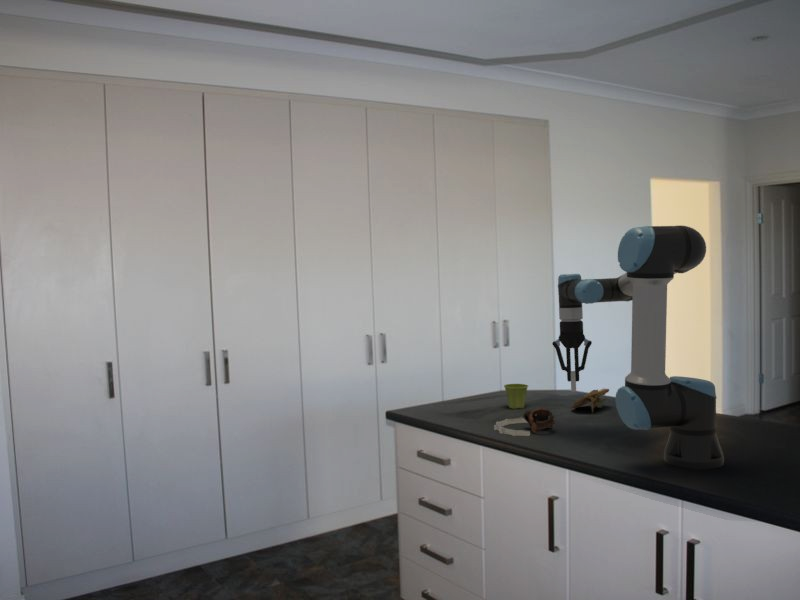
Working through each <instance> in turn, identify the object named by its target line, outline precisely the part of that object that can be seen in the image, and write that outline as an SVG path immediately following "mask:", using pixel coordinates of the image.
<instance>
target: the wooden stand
mask: <svg viewBox="0 0 800 600" xmlns="http://www.w3.org/2000/svg"><path fill="white" fill-rule="evenodd" d="M609 392H610V388H603V387H602V389H593V390H591V391H590V392H588V393H587V394H585V395H584V396H582V397H580V398H579V399H577V400H576V401H575V402H574V403H573V404H572V405H571V407H570V409H577V408H580V407H583V406H585V405H587V404H589V403H590V409H591V414H593V413H594V410H595V408H598V409H599V408H600V409H601V408H603V403H604V401H606V400H607V399H605V398H603V399H601V397H604V396H605V395H606V394H607V393H609Z"/></svg>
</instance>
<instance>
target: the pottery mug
mask: <svg viewBox="0 0 800 600" xmlns="http://www.w3.org/2000/svg"><path fill="white" fill-rule="evenodd" d="M523 418H525V420H526V421H527V422H528V423H527V424H529V427H530V428H531V429H530V431H531V432H533V433H534V434H536V433H537V431H541V430H545V429H548V428H551V429H553V425H555V424H556V421H555V420H554V419H555V416H554V415H553V412H552V411H551V410H549V409H547V408H536V409H534V410H532V411H531V410H527V411H525V412H524V413H523Z"/></svg>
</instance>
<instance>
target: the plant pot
mask: <svg viewBox="0 0 800 600" xmlns="http://www.w3.org/2000/svg"><path fill="white" fill-rule="evenodd" d="M503 387H504V389H505V392H506V398H507V404H508V408H510V409H512V410H513V409H514V410H516V409H524V408H525V405H526V398H527V397H526V396H527V390H528V387H529V385H528V384H524V383H508V384H504V385H503Z"/></svg>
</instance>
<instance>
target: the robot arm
mask: <svg viewBox="0 0 800 600" xmlns="http://www.w3.org/2000/svg"><path fill="white" fill-rule="evenodd" d="M617 248H618V250H617V262H618V263H619V268H621V270H622V271H624V272H625V273H623V274H622V275H620V276H617V277H613V278H584V279H582V276H581V274H579V273H567V274H566V273H565V274H560V275H558V278H557V281H558V283H557V289H558V290H557V291H558V292H557V293H558V313H559V314H558V316H559V317H558V318H559V321H560V320H561V321H560V322H559V336H558V339H556V340H555V341H553V342H552V346H553V347H554V349H555V352H556V355H557V359H558V362H559V365H560V368H561V370H562V371H564V372H566V378H567V382H570V389H571V390H570V391H571V393H577V382H579V381H580V372H581V371H584V370H585V368H586V362H587V357H588V352H589V349H590V347H591V345H592V340H589V339H587V338H586V335H585V333H584V321H583V317H584V316H583V315H584V314H583V313H584V312H583V304H587V305H588V304H591V305H592V304H597V303H613V302H630V301H631V302H632V304H631V309H632V310H631V352H630V353H631V354H630V355H631V356H630V359H631V360H630V372H629V374H627V375H626V376H625V377H624V385H623V386H621V387H619V388H618V389H617V391H616V392H615V406H616V410H617V413H618V415H619V417H620V419H621V421H622V422H623V423H624V425H625V426H626V427H628V428H629V429H632V430H636V431H637V430H644V431H647V430H653V429H661V428H663V429H664V428H669V436H668V439H667V442H666V444H665V447H664V450H663V461H664V462H665V463H666V464H669V465H671V466H673V467H678V468H681V467H682V468H681V469H688V468H689V469H688V470H712V469H713V470H714V469H718V468H721V467H722V466H724V464H725V457H724V456H725V455H724V452H723V449H722V447H721V443H720V441H719V439H718V435H717V393H716V386H715V384H714V383H713V382H712V381H709V380H707V379H701V378H696V377H689V376H679V375H678V376H677V375H676V376H675V375H673V376H668V375H667V374H666V358H667V355H666V351H667V317H668V316H667V315H668V314H667V313H668V312H667V308H668V284H670V282H672V281H673V279H675V278H674V277H675V276H674V275H675V274H685V273H687V272H689V271H692V269H693V270H694V269H695V268H697V267H698V266H699V265H700V264H702V262H703V260H704V259H705V256H706V253H707V243H706V241H705V239H704V237H703V235H702V234H701V233H700V231H698V230H696V229H695V228H693V227H691V226H687V225H654V226H653V225H652V226H650V225H645V226H635V227H632V228H629V230H627V231H626V232H625V233H624V235H623V236H622V237H621V238H620V242H619V244H618V247H617ZM583 342H584V344H583ZM561 344H562V346H563V347H564V348H565V353H566V365H565V362H564V361H565V360H564V357H563V354H562V351H561V348H560V345H561ZM582 344H583V346H584V349H583V354H582V360H581V363H579V362H580V359H579V357H580V356H579V348H580V347H581V345H582ZM571 349H573V352H574V353H573V354H574V370H572V366H571V365H572V359H571V358H572V357H571ZM580 364H581V365H580Z"/></svg>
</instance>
